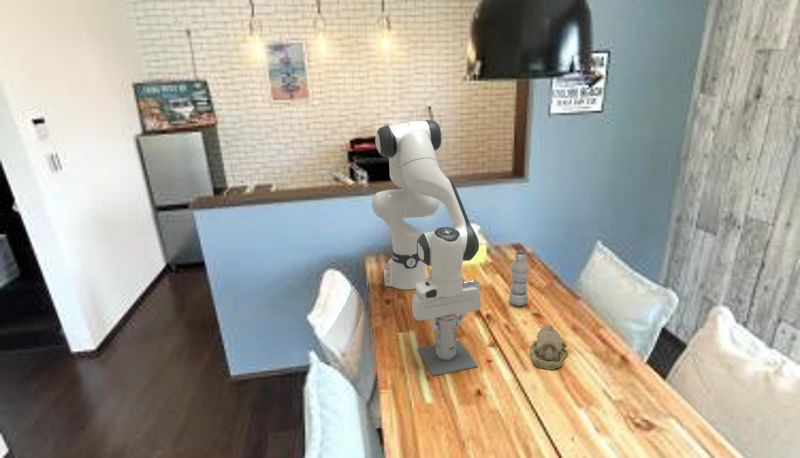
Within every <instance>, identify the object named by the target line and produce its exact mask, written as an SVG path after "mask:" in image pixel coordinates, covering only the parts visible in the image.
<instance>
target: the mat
mask: <svg viewBox="0 0 800 458" xmlns="http://www.w3.org/2000/svg"><path fill="white" fill-rule="evenodd" d="M416 349H417V351H418V353H419V355H420V357H421V359H422V360H423V362H424V364H425V365H426V368H427V370H428V371H429V373H430V374H431V376H432V377H438V376H443V375H446V374H451V373H452V374H453V373H456V372H462V371H467V370H471V369H476V368H479V364H477V362H476V361H475V360H474V358H473V356H471V354H470V353H469V351H468V350H467V349H466V347H465V346H464V345H463V344H462V342H461V341H460V340H458V339H457V340H456V355H455V356H454V358H453V359H451V360H442V359H440V358H439V357H438V356H437V354H436V344H433V345H428V346H423V347H417V348H416Z"/></svg>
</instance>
